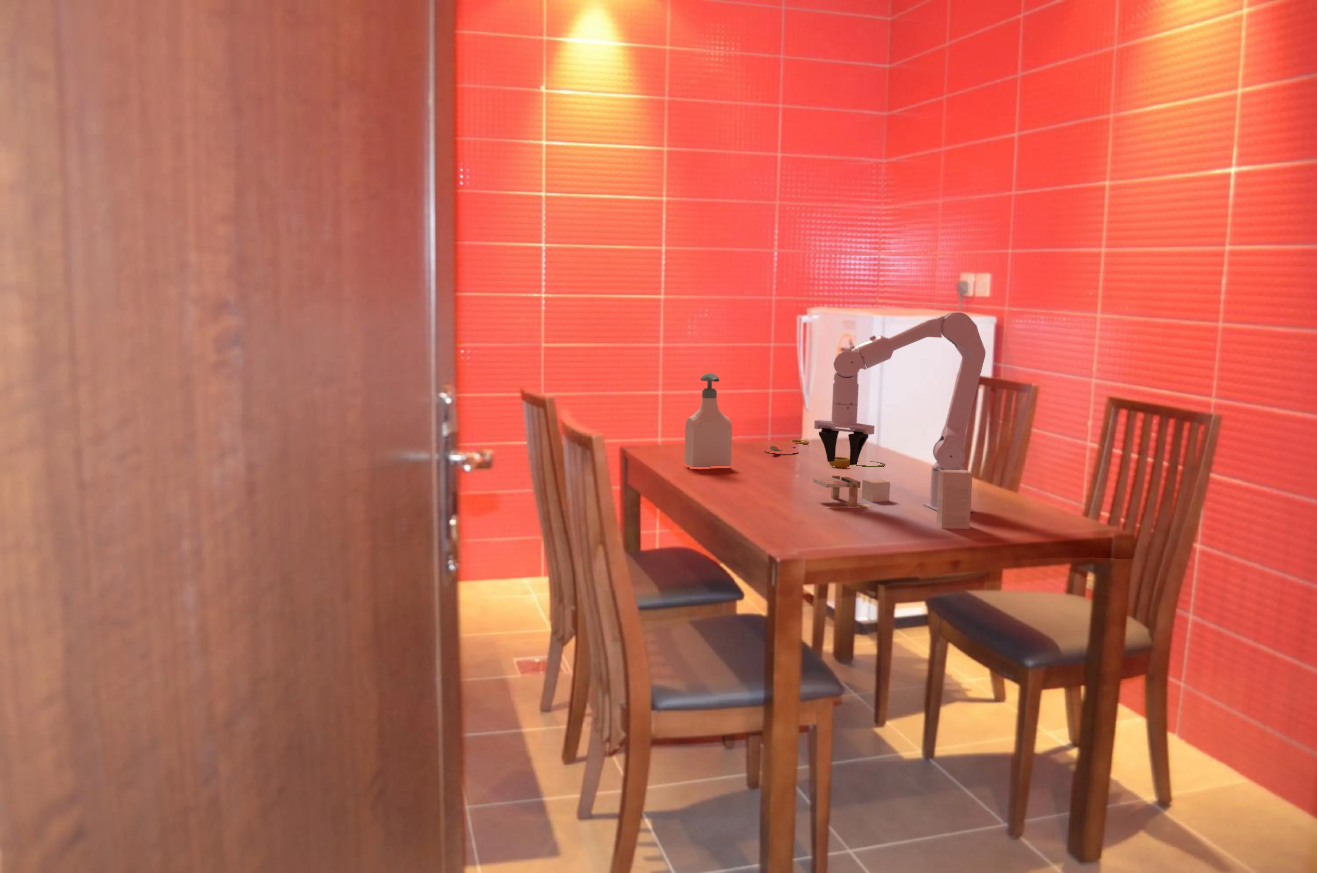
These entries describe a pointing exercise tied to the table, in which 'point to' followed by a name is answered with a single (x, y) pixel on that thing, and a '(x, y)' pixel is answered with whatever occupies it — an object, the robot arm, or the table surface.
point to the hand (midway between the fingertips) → (842, 462)
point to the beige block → (875, 490)
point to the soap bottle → (708, 431)
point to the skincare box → (954, 499)
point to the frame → (852, 495)
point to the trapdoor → (835, 482)
